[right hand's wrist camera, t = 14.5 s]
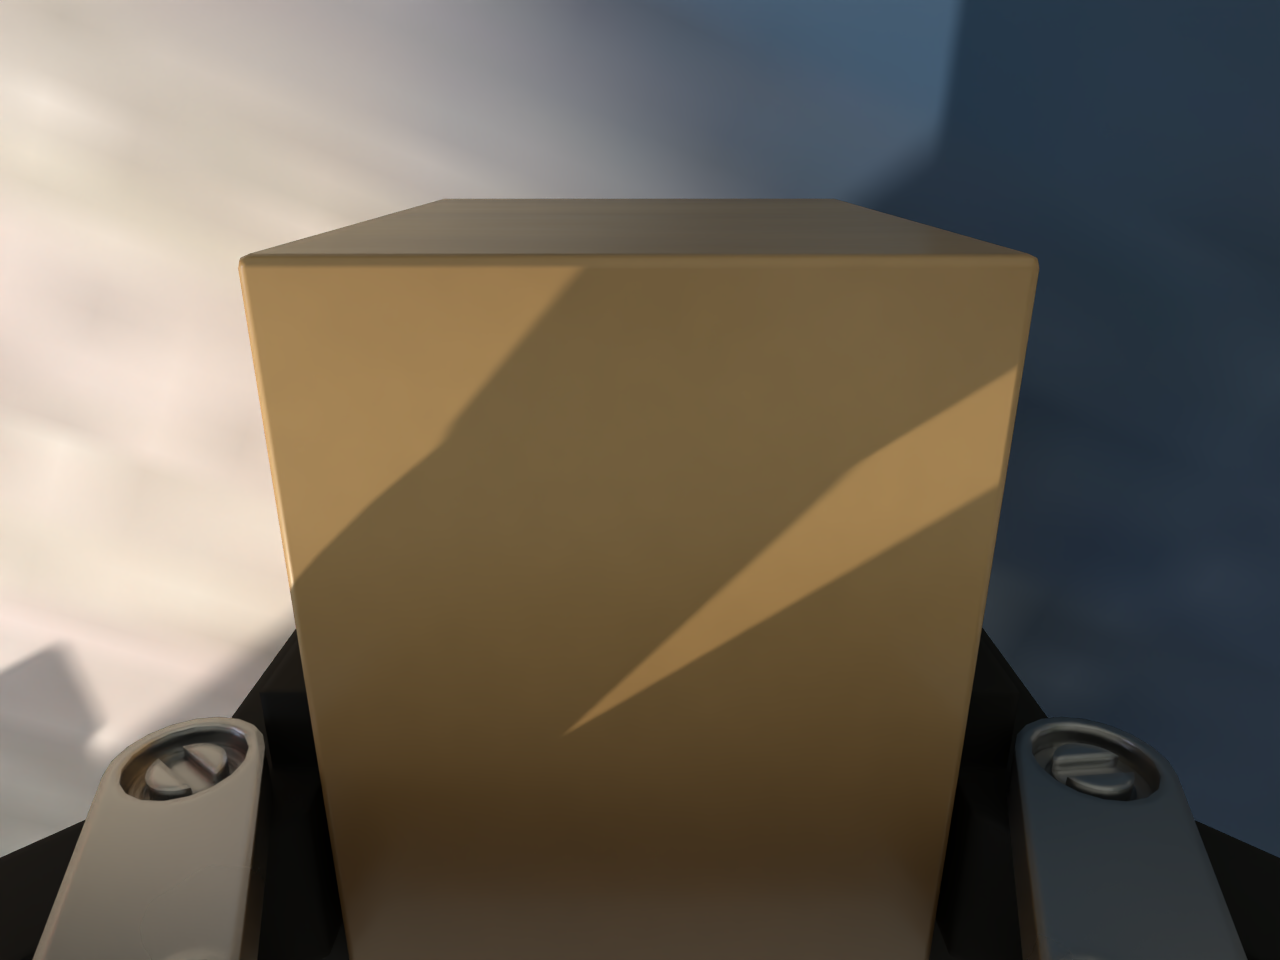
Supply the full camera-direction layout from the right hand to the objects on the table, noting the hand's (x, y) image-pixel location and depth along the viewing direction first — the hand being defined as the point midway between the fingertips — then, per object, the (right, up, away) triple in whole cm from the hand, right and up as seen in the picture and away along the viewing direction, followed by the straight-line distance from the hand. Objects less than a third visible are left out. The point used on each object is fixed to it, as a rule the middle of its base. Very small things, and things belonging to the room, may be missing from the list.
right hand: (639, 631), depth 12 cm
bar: (0, -28, +13) cm, 31 cm away
